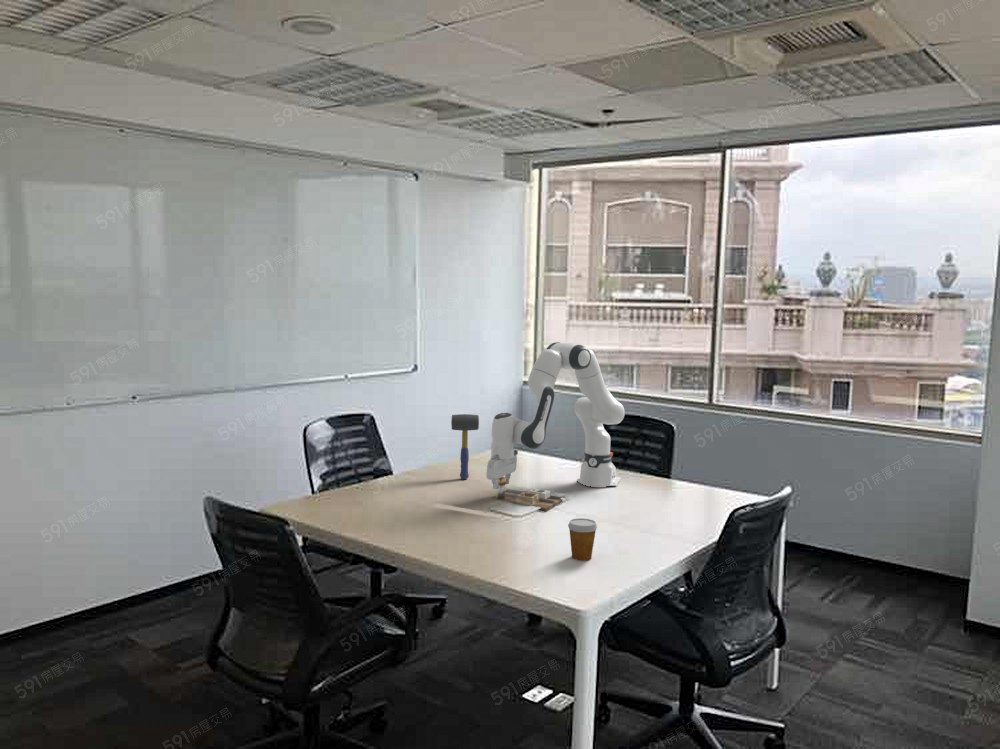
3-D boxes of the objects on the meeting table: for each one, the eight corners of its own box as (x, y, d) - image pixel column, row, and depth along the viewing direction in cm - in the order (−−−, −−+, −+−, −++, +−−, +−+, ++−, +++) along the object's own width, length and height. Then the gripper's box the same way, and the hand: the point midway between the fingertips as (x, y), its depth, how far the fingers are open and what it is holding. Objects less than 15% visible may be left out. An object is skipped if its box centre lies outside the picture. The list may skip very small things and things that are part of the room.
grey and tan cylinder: (499, 496, 330) (499, 476, 330) (507, 497, 329) (507, 477, 328) (495, 498, 327) (495, 478, 326) (503, 499, 326) (503, 479, 325)
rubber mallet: (477, 477, 369) (478, 412, 366) (478, 481, 362) (479, 415, 359) (450, 477, 368) (451, 412, 365) (450, 481, 361) (451, 415, 357)
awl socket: (523, 499, 327) (523, 491, 327) (539, 501, 324) (539, 494, 324) (516, 502, 321) (516, 495, 321) (531, 505, 318) (532, 498, 318)
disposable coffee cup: (593, 552, 267) (595, 517, 266) (598, 562, 258) (599, 526, 256) (565, 552, 267) (566, 517, 265) (568, 562, 257) (569, 526, 256)
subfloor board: (505, 493, 341) (506, 488, 340) (562, 502, 329) (562, 496, 328) (488, 502, 327) (488, 496, 326) (546, 511, 315) (546, 505, 314)
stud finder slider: (532, 494, 333) (532, 487, 333) (550, 496, 329) (550, 489, 329) (527, 496, 329) (527, 489, 328) (545, 499, 325) (545, 492, 325)
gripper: (497, 458, 315) (496, 492, 317) (519, 449, 333) (518, 482, 335) (483, 456, 318) (482, 490, 320) (506, 448, 336) (505, 480, 338)
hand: (501, 486), depth 327 cm, fingers open, 8 cm apart
